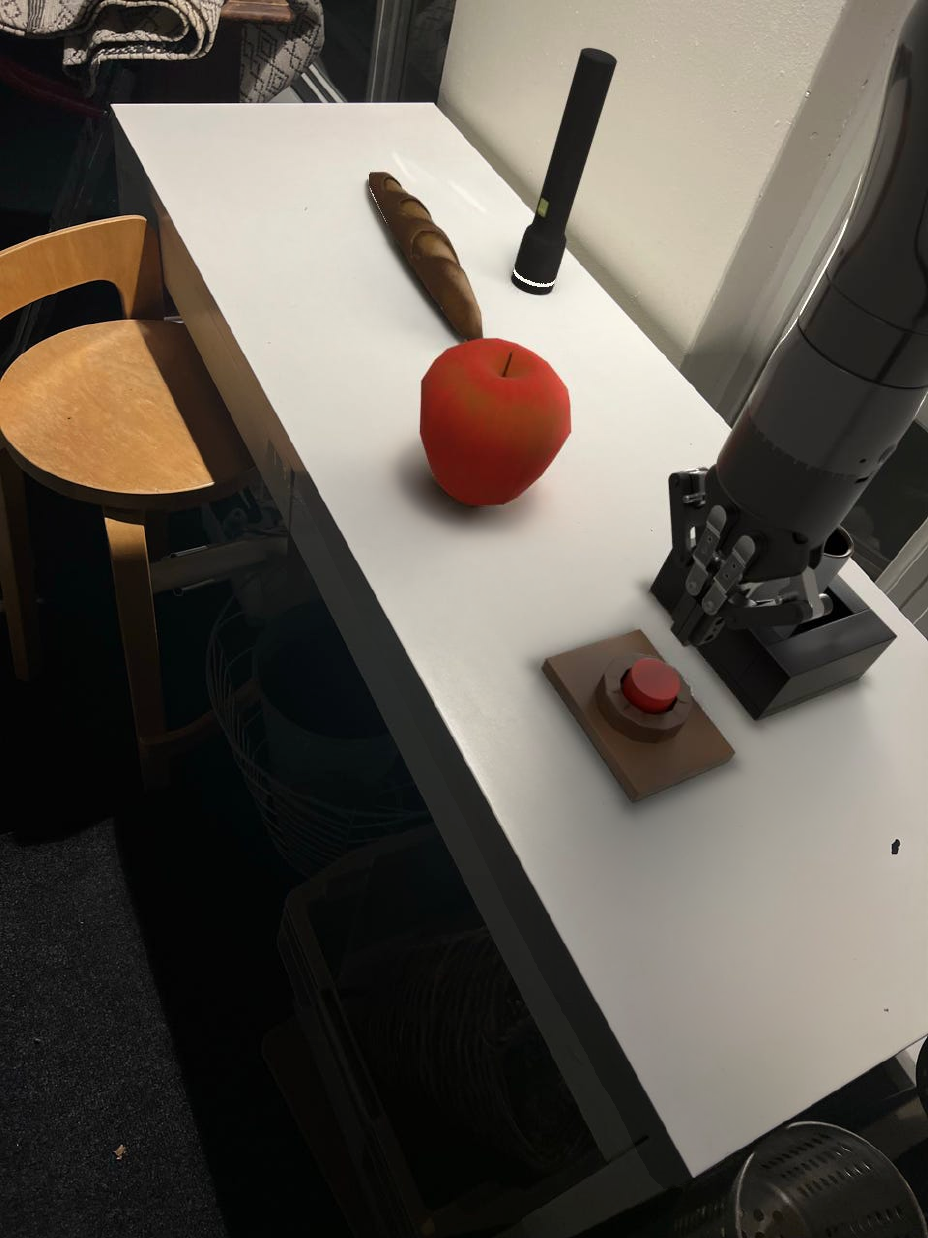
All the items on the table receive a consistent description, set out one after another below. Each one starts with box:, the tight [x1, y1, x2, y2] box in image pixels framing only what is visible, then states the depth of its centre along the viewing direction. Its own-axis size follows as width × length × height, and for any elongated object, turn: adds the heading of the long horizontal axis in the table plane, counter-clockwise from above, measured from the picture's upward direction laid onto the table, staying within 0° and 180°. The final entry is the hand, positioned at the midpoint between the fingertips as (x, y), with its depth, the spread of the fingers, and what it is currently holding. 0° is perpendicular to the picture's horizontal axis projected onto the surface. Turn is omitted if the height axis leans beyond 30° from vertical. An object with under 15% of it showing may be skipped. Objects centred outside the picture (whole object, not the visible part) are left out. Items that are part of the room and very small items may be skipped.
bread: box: [368, 171, 484, 342], centre depth 100 cm, size 38×5×5 cm, turn 21°
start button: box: [623, 658, 680, 714], centre depth 63 cm, size 4×4×2 cm
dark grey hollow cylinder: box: [749, 525, 855, 640], centre depth 70 cm, size 4×4×10 cm
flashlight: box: [510, 47, 618, 296], centre depth 96 cm, size 5×24×5 cm
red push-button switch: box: [541, 628, 736, 803], centre depth 65 cm, size 12×9×3 cm
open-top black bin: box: [649, 537, 898, 721], centre depth 72 cm, size 14×12×6 cm
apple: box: [419, 337, 572, 508], centre depth 73 cm, size 12×12×14 cm
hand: (687, 636), depth 59 cm, fingers closed
